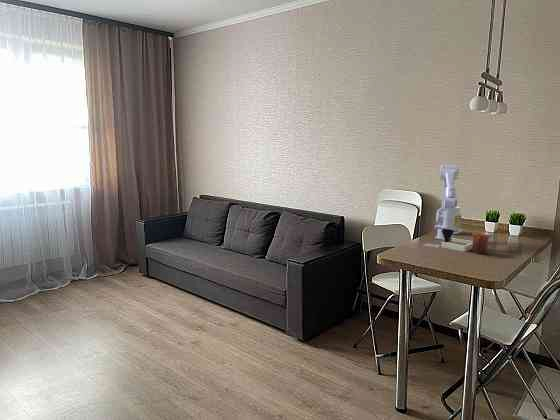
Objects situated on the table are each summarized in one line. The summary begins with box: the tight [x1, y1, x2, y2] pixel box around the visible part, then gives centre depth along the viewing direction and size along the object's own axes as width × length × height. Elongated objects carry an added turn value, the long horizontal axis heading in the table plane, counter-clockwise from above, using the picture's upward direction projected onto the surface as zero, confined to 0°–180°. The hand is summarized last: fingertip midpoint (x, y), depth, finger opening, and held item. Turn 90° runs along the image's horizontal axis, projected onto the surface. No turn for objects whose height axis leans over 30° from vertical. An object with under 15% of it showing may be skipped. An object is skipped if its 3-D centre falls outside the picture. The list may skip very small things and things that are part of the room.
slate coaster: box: [422, 242, 441, 249], centre depth 238 cm, size 8×8×1 cm
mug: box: [471, 231, 491, 255], centre depth 223 cm, size 12×9×10 cm
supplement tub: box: [440, 206, 462, 235], centre depth 275 cm, size 12×12×17 cm
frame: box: [440, 237, 473, 253], centre depth 236 cm, size 16×13×3 cm
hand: (446, 242), depth 240 cm, fingers closed
